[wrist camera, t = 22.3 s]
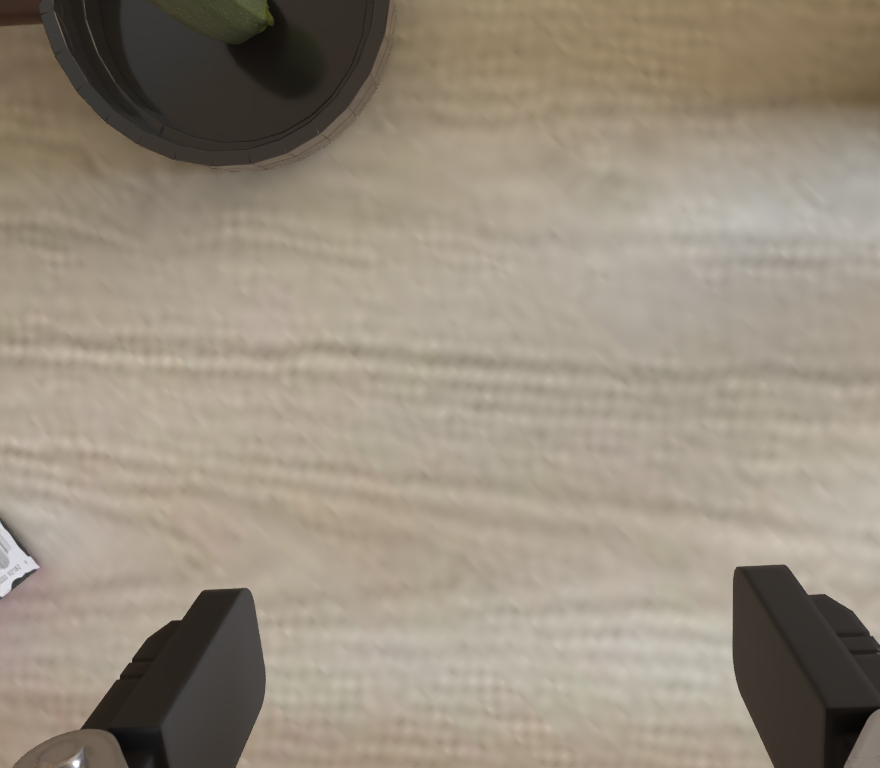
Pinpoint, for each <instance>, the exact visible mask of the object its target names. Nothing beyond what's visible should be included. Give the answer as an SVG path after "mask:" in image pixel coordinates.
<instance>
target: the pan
mask: <svg viewBox="0 0 880 768" xmlns="http://www.w3.org/2000/svg"><path fill="white" fill-rule="evenodd" d="M267 4H268V6H269V9H268V10H269V12H270V13H271V15H272V16H273V18H274V25H273V26H270V25H267V27H266V29H265V30H264V31H263V32H260V33H258V34H256V35H255V36H253V37H251V38H250V39H248V40H247V41H245V42H243V43H241V44H236V45H235V44H228V43H225V42H222V41H218V40H215V39H211V38H208V37H206V36H203V35H201V34H198V33H196V32H194V31H192V30H190V29H188V28H186V27H185V26H183V25H182V24H180V23H179V22H178V21H176V20H175V19H174V18H172V17H171V16H170V15H169V14H167V13H166V12H164V11H163V10H161V9H160V8H159V7H157V6H155V5H154V4H152V3H150V2H149V1H147V0H41V3H40V4H39V5H38V6H39V12H40V14H41V15H40V17H41V19H42V22H43V25H44V28H45V30H46V33H47V36H48V39H49V41H50V44H51V47H52V50H53V52H54V54H55V57H56V59H57V60H58V62H59V64H60V65H61V67H62V69H63V70H64V72H65V73H66V75H67V77H68V78H69V80H70V82H71V83H72V85H73V86H74V88H75V90H76V91H77V92H78V94H79V95H80V96H81V97H82V98H83V99H84V100H85V101H86V102H87V103H88V104H89V105H90V106H91V107H92V109H93V110H94V111H95V112H96V113H97V114H98V115H99V116H100V117H101V118H102V119H103V120H104V121H106V123H107V124H109V125H110V126H112V127H113V128H115V129H116V130H117V131H119V132H120V133H122V134H123V135H125V136H126V137H127V138H129V139H130V140H132V141H133V142H135V143H136V144H139V145H140V146H142V147H144V148H146V149H149V150H151V151H154V152H156V153H158V154H161V155H163V156H166V157H168V158H170V159H173V160H176V161H180V162H185V163H189V164H194V165H198V166H203V167H209V168H215V169H220V170H226V171H232V172H233V171H235V172H240V171H257V170H268V169H273V168H276V167H279V166H283V165H286V164H289V163H293V162H296V161H299V160H301V159H304V158H306V157H307V156H309V155H311V154H313V153H314V152H316V151H318V150H319V149H321V148H323V147H324V146H326V145H328V144H330V143H331V141H334V140H335V139H336V138H337V137H338V136H339V135H340V134H341V133H342V132H343V131H344V130H345V129H346V128H347V127H348V126H349V125H350V124H351V123H352V122H353V121H354V120H355V119H356V118H357V117H358V116H359V115H360V113H361V112H362V110H363V109H364V107H365V106H366V104H367V103H368V101H369V99H370V98H371V96H372V95H373V93H374V92H375V90H376V89H377V86H378V85H379V82H380V79H381V77H382V74H383V71H384V69H385V66H386V63H387V61H388V58H389V55H390V51H391V46H392V40H393V33H394V26H395V19H396V3H395V0H267Z"/></svg>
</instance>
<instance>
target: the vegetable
mask: <svg viewBox="0 0 880 768" xmlns="http://www.w3.org/2000/svg"><path fill="white" fill-rule="evenodd" d="M147 1H149V2H150V3H152V4H154V5H155V6H157V7H159V8H160V9H161V10H163V11H164V12H166V13H167V14H169V15H170V16H171V17H172V18H174V19H175V20H176V21H178V22H179V23H180V24H182V25H183V26H185V27H186V28H188V29H190V30H192V31H194V32H196V33H198V34H201V35H203V36H206V37H208V38H211V39H215V40H218V41H222V42H225V43H228V44H235V45H236V44H241V43H243V42H245V41H247V40H248V39H250V38H251V37H253V36H255V35H256V34H258V33H260V32H263V31H264V30H265V29H266V27H267V25H270V26H273V25H274V18H273V16H272V15H271V13H270V12H269V10H268V9H269V6H268V4H267V0H147Z"/></svg>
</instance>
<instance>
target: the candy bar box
mask: <svg viewBox="0 0 880 768" xmlns="http://www.w3.org/2000/svg"><path fill="white" fill-rule="evenodd" d="M39 568H40V566H39V564H38V563H37V561H36V560H35V559H34V557H33V556H32V555H31V554H30V553H29V551H28V550H27V549H26V548H25V547H24V546H23V545H22V543H21V542H20V541H19V540H18V538H17V537H16V536H15V535H14V533H13V532H12V530H11V529H10V528H9V527H8V526H7V524H6V523H5V521H4V520H3V519H2V517H1V516H0V599H2V598H3V597H4V596H5V595H7V594H8V593H9V592H10V591H11V590H13V589H14V588H15V587H16V586H17V585H19V584H20V583H21V582H22V581H24V580H25V579H26V578H27V577H28V576H30V575H31V574H32V573H34V572H35V571H37V570H38V569H39Z"/></svg>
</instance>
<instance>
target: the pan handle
mask: <svg viewBox="0 0 880 768" xmlns="http://www.w3.org/2000/svg"><path fill="white" fill-rule="evenodd" d="M40 3H41V0H0V27H1V26H16V25H32V24H43V22H42V19H41V17H40V15H41V14H40V12H39V6H38V5H39V4H40Z"/></svg>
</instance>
